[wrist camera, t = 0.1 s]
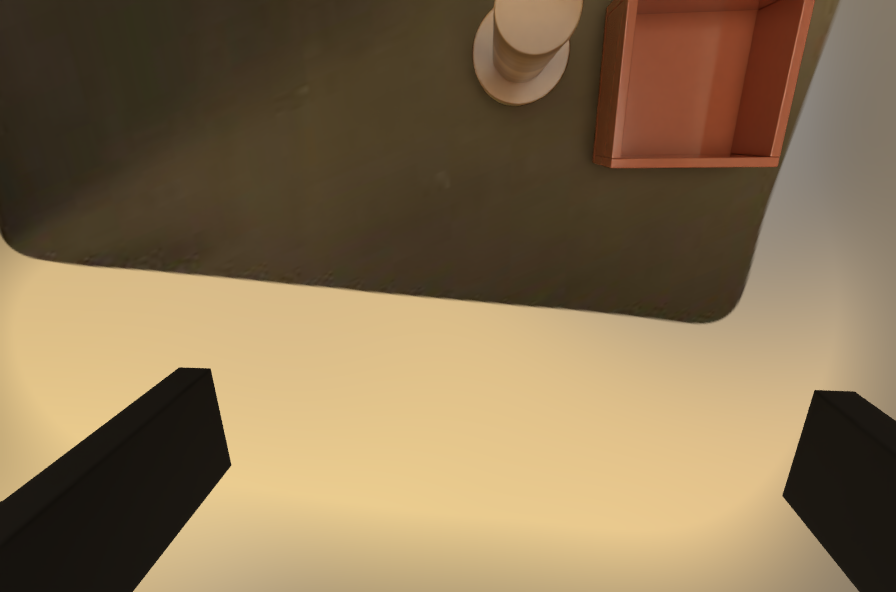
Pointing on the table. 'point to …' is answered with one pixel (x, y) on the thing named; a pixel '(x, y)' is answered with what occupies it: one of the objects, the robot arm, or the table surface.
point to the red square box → (698, 82)
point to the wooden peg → (524, 48)
